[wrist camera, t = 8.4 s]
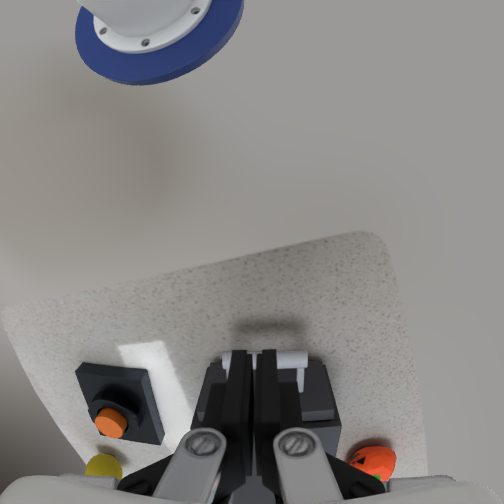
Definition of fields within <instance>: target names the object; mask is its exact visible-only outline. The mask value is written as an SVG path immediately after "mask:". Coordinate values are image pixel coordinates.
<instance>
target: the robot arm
mask: <svg viewBox="0 0 504 504" xmlns="http://www.w3.org/2000/svg"><path fill="white" fill-rule="evenodd" d="M76 1H77V2H78V3H80V4H81V5H82V6H83V7H85V8H86V9H87V10H88V11H90V12H91V13H92V14H93V15H94V22H93V23H94V28H95V32H96V34H97V35H98V37H99V39H100V40H101V41H102V42H103V43H104V44H106V45H107V46H108V47H110V48H111V49H114V50H116V51H118V52H122V53H127V54H142V53H148V52H153V51H156V50H159V49H162V48H165V47H167V46H169V45H171V44H173V43H175V42H177V41H178V40H180V39H181V38H183V37H185V36H186V35H187V34H188V33H190V32H191V31H192V30H193V29H194V28H195V27H196V26H197V25H198V24H199V23H200V22H201V21H202V19H203V18H204V16H205V15H206V13H207V11H208V10H209V7H210V5H211V2H212V0H76ZM196 13H198V14H196ZM147 44H148V45H147ZM254 439H255V455H256V471H257V476H262V484H263V486H265V487H266V488H267V489H269V490H270V491H272V492H273V499H274V504H503V503H502V501H501V500H500V499H499V497H498V496H497V495H496V494H495V493H494V492H493V491H492V490H491V489H490V488H489V487H487V486H485V485H483V484H479V483H474V482H457V481H455V480H454V479H453V478H452V477H450V476H447V475H435V476H425V477H411V478H389V480H388V481H380V480H379V479H377V478H376V477H374V476H372V475H370V474H368V473H366V472H364V471H361V470H359V469H357V468H355V467H353V466H351V465H349V464H347V463H345V462H344V461H342V460H340V459H338V458H336V457H334V456H332V455H330V454H328V453H326V452H325V451H324V449H323V447H322V444H321V441H320V439H319V437H318V436H317V435H316V434H315V433H314V432H313V431H311V430H308V429H306V428H304V427H303V419H302V411H301V404H300V396H299V389H298V383H297V381H289V382H278V371H277V354H276V349H270V350H262V353H257V357H256V380H255V395H254V375H253V356H252V354H247V350H232V355H231V361H230V367H229V373H228V379H227V382H212V384H211V388H210V392H209V396H208V401H207V405H206V409H205V414H204V418H203V422H202V427H201V428H197V429H194V430H191V431H189V432H188V433H186V434H185V435H184V436H183V438H182V439H181V441H180V443H179V445H178V447H177V449H176V451H175V453H174V454H172V455H170V456H168V457H166V458H164V459H162V460H160V461H158V462H156V463H154V464H151V465H149V466H147V467H145V468H143V469H141V470H138V471H136V472H134V473H132V474H129V475H128V476H126V477H124V478H123V479H117V478H116V477H113V476H94V475H81V474H70V473H65V474H64V473H63V474H60V475H58V476H56V477H55V476H37V475H35V476H27V477H22V478H19V479H17V480H16V481H14V482H13V483H12V484H10V485H9V486H8V487H7V488H6V489H5V491H4V492H3V493H2V494H1V496H0V504H232V502H233V499H234V494H235V490H237V489H238V488H240V487H241V486H243V485H244V484H246V476H252V468H253V447H254Z"/></svg>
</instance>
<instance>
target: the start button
mask: <svg viewBox="0 0 504 504" xmlns="http://www.w3.org/2000/svg"><path fill="white" fill-rule="evenodd" d="M95 425H96V427H97V428H98V429H99V431H101V432H102V433H103V434H105V435H106V436H108V437H111V438H120V437H121V436H122V435H123V433H124V431H125V429H126V427H127V421H126V419H125V418H124V417H123V416H122V415H121V414H120V413H119V412H117V411H115V410H113V409H111V408H103V409H102V410H101V411H100V413H99V414H98V416H97V417H96V419H95Z"/></svg>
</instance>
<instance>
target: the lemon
mask: <svg viewBox="0 0 504 504" xmlns="http://www.w3.org/2000/svg"><path fill="white" fill-rule="evenodd" d="M85 475H94V476H113V477H116V478H117V479H122V467H121V465H120V463H119V462H118V461H117V460H116V459H115V458H114V456H113V455H107V454H98V455H96V456H94V457H93V458H91V460H90V461H89V462H88V464H87V466H86V470H85Z"/></svg>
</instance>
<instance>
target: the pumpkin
mask: <svg viewBox="0 0 504 504" xmlns="http://www.w3.org/2000/svg"><path fill="white" fill-rule="evenodd" d="M395 463H396V455H395V452H394V451H393V450H391V449H390V448H387V447H382V446H372V447H365V448H362V449H360V450H358V451H357V452H356V453H355V454H354V455H353V456H352V457H351V458H350V459H349V460H348V462H347V464H349V465H351V466H353V467H355V468H357V469H359V470H361V471H364V472H366V473H368V474H370V475H372V476H374V477H376V478H377V479H379V480H380V481H387V480H388V479H389V478H390V476H391V475H392V473H393V471H394V467H395Z"/></svg>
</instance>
